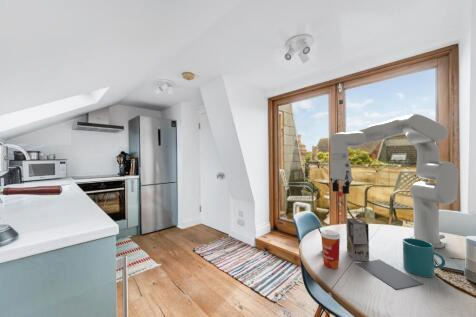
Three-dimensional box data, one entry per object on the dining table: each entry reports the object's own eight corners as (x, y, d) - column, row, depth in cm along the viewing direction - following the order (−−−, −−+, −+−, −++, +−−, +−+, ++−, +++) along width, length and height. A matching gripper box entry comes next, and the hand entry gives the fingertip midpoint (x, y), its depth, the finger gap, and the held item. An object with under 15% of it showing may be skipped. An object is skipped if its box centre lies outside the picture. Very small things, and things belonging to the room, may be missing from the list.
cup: (447, 284, 69) (447, 252, 69) (403, 272, 77) (402, 243, 77) (443, 272, 76) (443, 243, 76) (403, 262, 83) (402, 236, 83)
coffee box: (370, 261, 85) (369, 224, 85) (353, 260, 86) (352, 223, 86) (361, 251, 94) (360, 218, 94) (346, 250, 95) (345, 217, 95)
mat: (379, 260, 86) (379, 259, 86) (423, 284, 69) (423, 283, 69) (356, 263, 83) (356, 263, 83) (396, 289, 67) (396, 288, 67)
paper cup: (317, 261, 86) (317, 229, 86) (334, 260, 87) (333, 228, 87) (327, 271, 78) (326, 236, 78) (345, 270, 79) (344, 235, 79)
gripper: (359, 157, 92) (360, 195, 92) (334, 157, 109) (335, 189, 109) (346, 157, 90) (347, 196, 90) (322, 157, 107) (323, 190, 107)
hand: (340, 192), depth 100 cm, fingers open, 6 cm apart
